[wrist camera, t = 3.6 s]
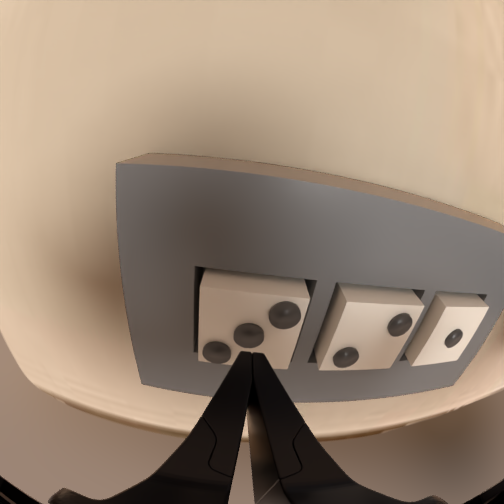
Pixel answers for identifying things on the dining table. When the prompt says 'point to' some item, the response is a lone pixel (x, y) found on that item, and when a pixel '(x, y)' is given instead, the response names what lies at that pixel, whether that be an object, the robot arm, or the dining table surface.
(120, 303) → the dining table surface
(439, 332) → the tile one
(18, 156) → the dining table surface
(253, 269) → the tile board
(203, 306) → the tile three
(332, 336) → the tile two
